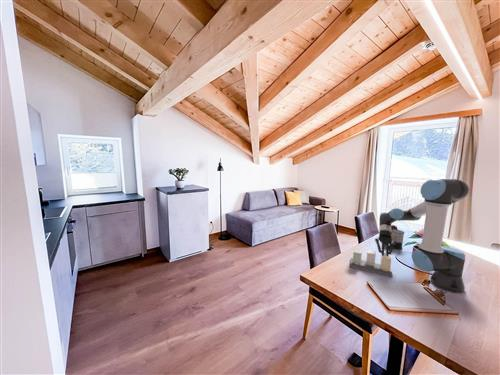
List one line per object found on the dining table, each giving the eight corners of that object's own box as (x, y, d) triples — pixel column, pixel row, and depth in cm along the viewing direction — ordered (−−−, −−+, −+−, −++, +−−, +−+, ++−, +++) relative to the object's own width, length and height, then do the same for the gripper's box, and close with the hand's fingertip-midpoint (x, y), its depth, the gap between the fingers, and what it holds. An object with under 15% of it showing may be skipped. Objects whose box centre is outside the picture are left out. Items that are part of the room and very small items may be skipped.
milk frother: (402, 246, 183) (404, 230, 181) (403, 253, 170) (405, 236, 168) (382, 243, 190) (384, 227, 188) (382, 249, 177) (384, 232, 175)
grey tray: (350, 259, 157) (351, 255, 157) (390, 268, 146) (390, 264, 145) (349, 267, 147) (350, 262, 146) (392, 277, 135) (393, 272, 134)
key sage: (352, 261, 151) (353, 249, 150) (360, 263, 149) (361, 251, 147) (352, 264, 147) (353, 252, 146) (360, 265, 145) (361, 253, 143)
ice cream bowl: (402, 242, 192) (403, 226, 190) (389, 242, 193) (391, 226, 191) (394, 238, 203) (396, 223, 201) (382, 238, 203) (384, 223, 201)
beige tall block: (380, 267, 143) (381, 255, 142) (389, 269, 141) (390, 256, 139) (380, 270, 139) (382, 257, 138) (389, 272, 137) (391, 259, 136)
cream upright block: (366, 262, 151) (367, 250, 149) (374, 263, 148) (375, 251, 147) (366, 264, 147) (367, 252, 145) (374, 266, 144) (375, 254, 143)
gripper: (394, 236, 154) (395, 267, 142) (374, 232, 161) (373, 262, 148) (396, 231, 149) (397, 263, 137) (375, 228, 155) (374, 258, 143)
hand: (384, 262), depth 143 cm, fingers closed
